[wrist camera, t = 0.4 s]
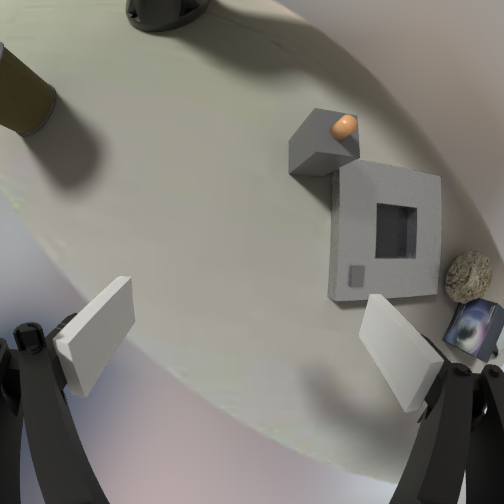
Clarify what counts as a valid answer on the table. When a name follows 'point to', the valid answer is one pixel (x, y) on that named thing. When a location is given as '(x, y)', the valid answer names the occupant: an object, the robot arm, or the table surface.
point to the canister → (23, 96)
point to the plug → (324, 143)
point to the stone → (468, 277)
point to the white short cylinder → (498, 346)
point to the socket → (384, 232)
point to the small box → (476, 328)
